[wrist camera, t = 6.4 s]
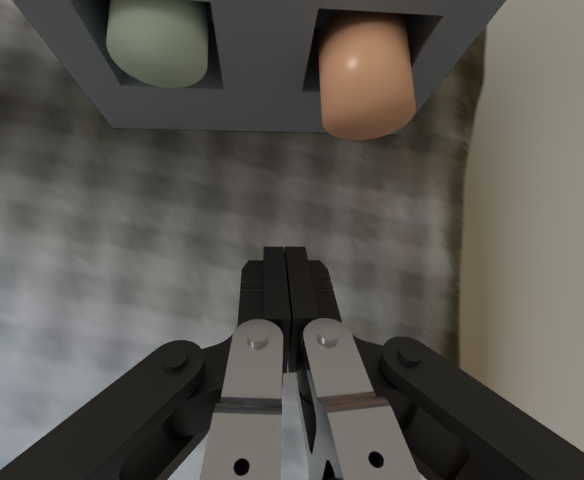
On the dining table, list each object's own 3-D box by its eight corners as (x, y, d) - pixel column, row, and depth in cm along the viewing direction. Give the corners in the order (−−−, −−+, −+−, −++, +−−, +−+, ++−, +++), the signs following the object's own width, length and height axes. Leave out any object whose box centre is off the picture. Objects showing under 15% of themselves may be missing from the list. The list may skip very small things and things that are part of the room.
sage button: (213, 89, 17) (199, 21, 13) (127, 86, 16) (87, 15, 12) (214, 21, 17) (201, -63, 14) (133, 16, 17) (96, -72, 13)
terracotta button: (393, 141, 17) (433, 90, 13) (315, 139, 17) (332, 86, 13) (386, 71, 18) (422, 4, 14) (311, 68, 17) (326, -2, 14)
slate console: (399, 134, 22) (530, -31, 12) (112, 128, 20) (-48, -76, 10) (388, 31, 24) (494, -197, 13) (122, 16, 22) (-6, -262, 11)
